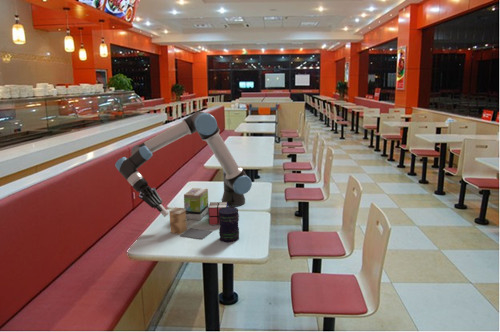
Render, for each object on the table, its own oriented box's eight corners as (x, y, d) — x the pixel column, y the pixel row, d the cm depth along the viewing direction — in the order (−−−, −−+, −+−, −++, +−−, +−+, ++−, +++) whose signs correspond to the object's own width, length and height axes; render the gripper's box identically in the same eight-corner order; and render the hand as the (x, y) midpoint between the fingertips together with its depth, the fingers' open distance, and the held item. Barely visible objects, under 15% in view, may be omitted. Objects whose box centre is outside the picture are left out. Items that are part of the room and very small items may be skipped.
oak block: (170, 232, 207) (169, 210, 204) (177, 228, 212) (175, 207, 209) (180, 234, 204) (179, 212, 202) (186, 230, 210) (185, 208, 207)
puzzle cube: (227, 224, 216) (226, 207, 214) (209, 225, 216) (208, 207, 214) (228, 218, 226) (227, 201, 224) (210, 218, 226) (209, 202, 224)
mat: (179, 236, 202) (179, 235, 202) (190, 228, 212) (190, 227, 212) (202, 239, 197) (202, 238, 197) (212, 231, 207) (212, 230, 207)
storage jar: (215, 239, 197) (214, 210, 194) (229, 233, 204) (228, 205, 201) (229, 244, 191) (228, 215, 187) (243, 238, 198) (242, 209, 195)
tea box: (201, 220, 224) (199, 195, 220) (184, 219, 226) (182, 194, 222) (209, 211, 238) (207, 188, 235) (193, 210, 240) (191, 187, 237)
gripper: (141, 183, 219) (169, 215, 216) (126, 189, 207) (155, 223, 205) (149, 174, 216) (177, 206, 213) (133, 180, 204) (163, 214, 202)
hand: (166, 215), depth 209 cm, fingers closed
